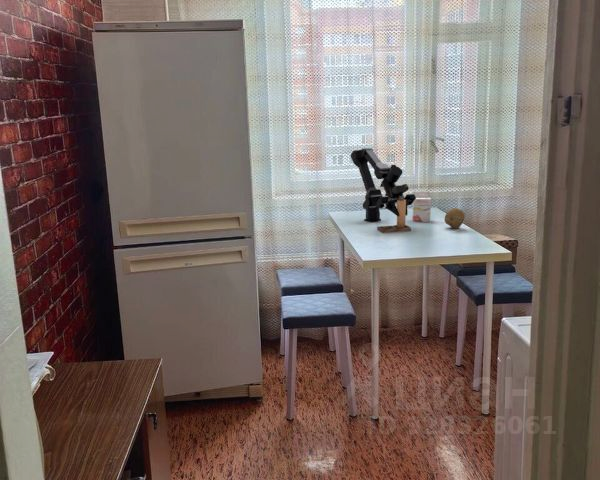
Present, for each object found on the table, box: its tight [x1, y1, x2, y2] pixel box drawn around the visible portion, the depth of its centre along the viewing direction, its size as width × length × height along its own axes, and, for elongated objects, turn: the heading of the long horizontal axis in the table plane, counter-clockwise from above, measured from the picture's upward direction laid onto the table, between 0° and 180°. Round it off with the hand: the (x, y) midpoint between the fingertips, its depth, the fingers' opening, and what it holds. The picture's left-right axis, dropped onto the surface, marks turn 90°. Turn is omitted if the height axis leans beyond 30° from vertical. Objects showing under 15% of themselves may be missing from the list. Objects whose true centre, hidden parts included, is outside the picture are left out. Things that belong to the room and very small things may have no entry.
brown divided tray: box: [376, 224, 412, 234], centre depth 292 cm, size 14×7×2 cm, turn 103°
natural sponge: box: [444, 207, 466, 230], centre depth 293 cm, size 9×9×10 cm
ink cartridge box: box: [411, 190, 432, 223], centre depth 311 cm, size 9×5×15 cm, turn 84°
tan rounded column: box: [396, 195, 407, 228], centre depth 291 cm, size 4×4×16 cm
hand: (402, 215), depth 290 cm, fingers closed on tan rounded column, 4 cm apart
